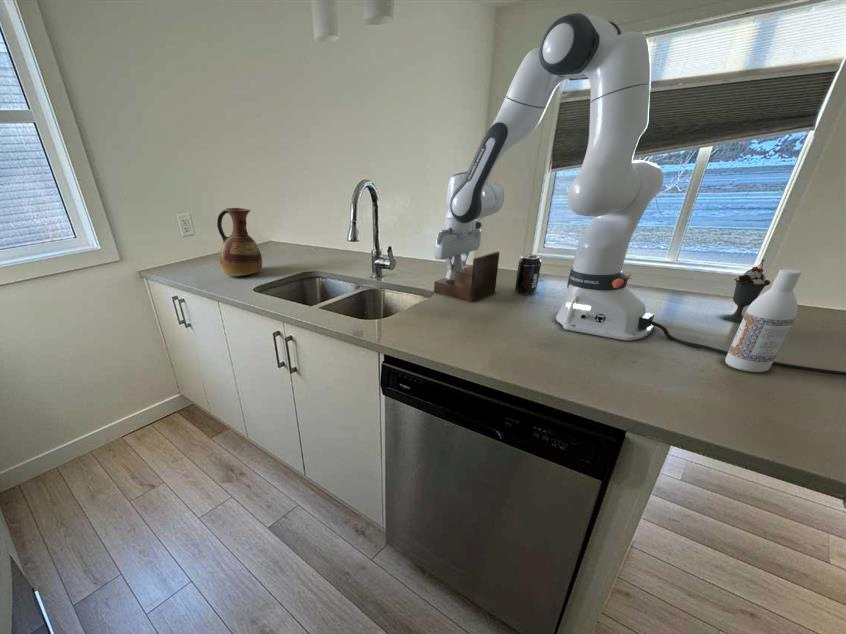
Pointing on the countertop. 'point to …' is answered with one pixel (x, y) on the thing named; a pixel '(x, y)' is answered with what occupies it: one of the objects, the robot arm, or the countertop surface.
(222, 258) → the ceramic pitcher
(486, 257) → the spice rack
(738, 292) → the sundae
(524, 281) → the beverage can
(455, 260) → the flask
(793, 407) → the countertop surface
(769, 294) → the bath foam
